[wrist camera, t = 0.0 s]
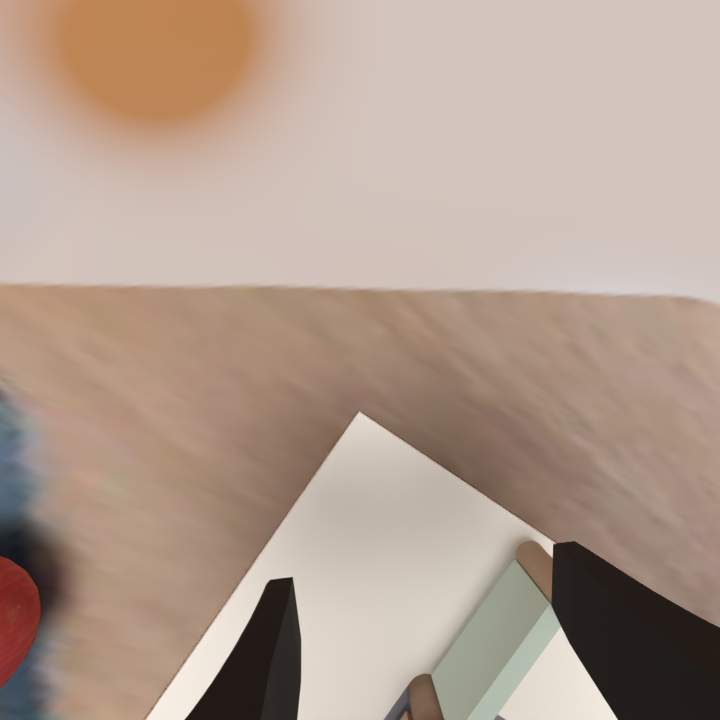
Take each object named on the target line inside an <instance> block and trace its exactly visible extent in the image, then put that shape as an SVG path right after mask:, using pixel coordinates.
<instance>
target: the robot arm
mask: <svg viewBox="0 0 720 720" xmlns="http://www.w3.org/2000/svg"><path fill="white" fill-rule="evenodd" d="M551 606H552V608H553V610H554V612H555V615H556V617H557V619H558V621H559V623H560V625H561V627H562V629H563V631H564V633H565V635H566V637H567V639H568V641H569V643H570V645H571V647H572V648H573V650H574V652H575V653H576V655H577V656H578V658H579V660H580V661H581V663H582V664H583V666H584V667H585V669H586V671H587V672H588V674H589V675H590V677H591V679H592V680H593V682H594V683H595V685H596V686H597V688H598V690H599V691H600V693H601V694H602V696H603V697H604V699H605V701H606V702H607V704H608V705H609V707H610V708H611V710H612V712H613V713H614V715H615V716H616V718H617V719H618V720H720V628H719V627H717V626H715V625H713V624H711V623H709V622H707V621H705V620H704V619H702V618H700V617H698V616H696V615H694V614H692V613H691V612H689V611H687V610H685V609H684V608H682V607H680V606H678V605H676V604H675V603H673V602H671V601H669V600H668V599H666V598H664V597H663V596H661V595H659V594H657V593H656V592H654V591H652V590H651V589H649V588H648V587H646V586H644V585H643V584H641V583H639V582H638V581H636V580H635V579H633V578H632V577H630V576H628V575H627V574H625V573H624V572H622V571H621V570H619V569H617V568H616V567H614V566H613V565H611V564H610V563H608V562H607V561H605V560H604V559H602V558H600V557H599V556H597V555H596V554H594V553H593V552H591V551H590V550H588V549H586V548H585V547H583V546H582V545H580V544H578V543H577V542H575V541H573V542H565V543H557V544H553V565H552V598H551ZM300 688H301V633H300V625H299V618H298V611H297V603H296V596H295V589H294V582H293V577H288V578H280V579H272V580H269V582H268V583H267V584H266V586H265V588H264V591H263V593H262V595H261V597H260V600H259V602H258V604H257V606H256V608H255V610H254V612H253V614H252V616H251V618H250V620H249V621H248V623H247V625H246V627H245V629H244V630H243V632H242V634H241V636H240V638H239V639H238V641H237V643H236V645H235V646H234V648H233V650H232V652H231V653H230V655H229V656H228V658H227V659H226V661H225V663H224V664H223V666H222V667H221V669H220V671H219V672H218V674H217V675H216V677H215V678H214V680H213V681H212V683H211V684H210V686H209V687H208V689H207V690H206V692H205V693H204V694H203V696H202V697H201V699H200V700H199V701H198V703H197V704H196V705H195V707H194V708H193V709H192V711H191V712H190V713H189V715H188V716H187V717H186V718H185V720H297V717H298V707H299V698H300Z"/></svg>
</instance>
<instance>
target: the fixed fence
mask: <svg viewBox="0 0 720 720" xmlns="http://www.w3.org/2000/svg"><path fill="white" fill-rule="evenodd" d="M407 693H408V699H409V704H410V708H411V713H412V714H410V713H409V712H407V711H406V712H405V713H404V715H403V716H402V717H401V719H400V720H444V717H443V714H442V710H441V707H440V704H439V700H438V697H437V693H436V690H435V687H434V683H433V680H432V676H431V674H421V675H418V676H416V677H415V678H413V679H412V680H411V683H410V685H409V687H408V692H407Z"/></svg>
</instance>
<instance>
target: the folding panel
mask: <svg viewBox="0 0 720 720" xmlns="http://www.w3.org/2000/svg"><path fill="white" fill-rule="evenodd" d="M516 559H517V560H516ZM516 559H514V560H513V562H512V563H511V565H510V566H509V567H508V569H507V570H506V572H505V573H504V574H503V576H502V577H501V579H500V580H499V581H498V583H497V584H496V586H495V587H494V588H493V590H492V591H491V593H490V594H489V595H488V597H487V598H486V600H485V601H484V602H483V604H482V605H481V607H480V608H479V610H478V611H477V612H476V614H475V615H474V617H473V618H472V619H471V621H470V622H469V624H468V625H467V626H466V628H465V629H464V631H463V632H462V633H461V635H460V636H459V638H458V639H457V640H456V642H455V643H454V645H453V646H452V647H451V649H450V650H449V652H448V653H447V654H446V656H445V657H444V659H443V660H442V661H441V663H440V664H439V666H438V667H437V668H436V670H435V671H434V673H433V674H432V675H431V676H432V680H433V683H434V687H435V690H436V693H437V697H438V700H439V704H440V707H441V710H442V714H443V717H444V720H494V719H495V717H496V716H497V715H498V713H499V712H500V710H501V709H502V708H503V706H504V705H505V703H506V702H507V701H508V699H509V698H510V696H511V695H512V694H513V692H514V691H515V690H516V688H517V687H518V685H519V684H520V683H521V681H522V680H523V678H524V677H525V676H526V674H527V673H528V672H529V670H530V669H531V667H532V666H533V665H534V663H535V662H536V660H537V659H538V658H539V656H540V655H541V653H542V652H543V651H544V649H545V648H546V647H547V645H548V644H549V642H550V641H551V640H552V638H553V637H554V635H555V634H556V633H557V631H558V630H559V628H560V627H561V625H560V623H559V621H558V619H557V617H556V615H555V612H554V610H553V608H552V606H551V598H552V565H553V558H552V557H551V556H550V555H549V554H548V553H547V552H546V551H545V550H544V549H543V547H542V546H541V545H540V544H539V543H537V542H535V541H526V542H523V543H522V544H521V545H520V546H519V547H518V548H517V551H516Z"/></svg>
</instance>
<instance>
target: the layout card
mask: <svg viewBox="0 0 720 720" xmlns="http://www.w3.org/2000/svg"><path fill="white" fill-rule="evenodd" d="M526 541H535V542H537V543H539V544H540V545H541V546H542V547H543V549H544V550H545V551H546V552H547V553H548V554H549V555H550V556H551V557H552V558H553V544H557V543H555V542H554V541H552V540H551V539H549V538H548V537H546V536H545V535H543V534H542V533H540V532H539V531H537V530H536V529H534V528H533V527H531V526H530V525H528V524H527V523H525V522H524V521H522V520H521V519H519V518H518V517H516V516H515V515H513V514H512V513H511V512H509V511H508V510H506V509H505V508H503V507H502V506H500V505H499V504H497V503H496V502H494V501H493V500H491V499H490V498H488V497H487V496H485V495H484V494H482V493H481V492H479V491H478V490H476V489H475V488H473V487H472V486H470V485H469V484H467V483H466V482H464V481H463V480H461V479H460V478H458V477H457V476H455V475H454V474H452V473H451V472H449V471H448V470H446V469H445V468H443V467H442V466H441V465H439V464H438V463H436V462H435V461H433V460H432V459H430V458H429V457H427V456H426V455H424V454H423V453H421V452H420V451H418V450H417V449H415V448H414V447H412V446H411V445H409V444H408V443H406V442H405V441H403V440H402V439H400V438H399V437H397V436H396V435H394V434H393V433H391V432H390V431H388V430H387V429H385V428H384V427H382V426H381V425H379V424H378V423H376V422H375V421H373V420H372V419H370V418H369V417H368V416H366V415H365V414H363V413H362V412H360V411H358V413H357V414H356V415H355V417H354V418H353V420H352V421H351V423H350V424H349V426H348V427H347V428H346V430H345V431H344V433H343V434H342V436H341V437H340V439H339V440H338V441H337V443H336V444H335V446H334V447H333V449H332V450H331V452H330V453H329V454H328V456H327V457H326V459H325V460H324V462H323V463H322V465H321V466H320V467H319V469H318V470H317V472H316V473H315V475H314V476H313V478H312V479H311V480H310V482H309V483H308V485H307V486H306V488H305V489H304V491H303V492H302V493H301V495H300V496H299V498H298V499H297V501H296V502H295V504H294V505H293V506H292V508H291V509H290V511H289V512H288V514H287V515H286V517H285V518H284V519H283V521H282V522H281V524H280V525H279V527H278V528H277V530H276V531H275V532H274V534H273V535H272V537H271V538H270V540H269V541H268V543H267V544H266V545H265V547H264V548H263V550H262V551H261V553H260V554H259V556H258V557H257V558H256V560H255V561H254V563H253V564H252V566H251V567H250V568H249V570H248V571H247V573H246V574H245V576H244V577H243V579H242V580H241V581H240V583H239V584H238V586H237V587H236V589H235V590H234V592H233V593H232V594H231V596H230V597H229V599H228V600H227V602H226V603H225V605H224V606H223V607H222V609H221V610H220V612H219V613H218V615H217V616H216V618H215V619H214V620H213V622H212V623H211V625H210V626H209V628H208V629H207V631H206V632H205V633H204V635H203V636H202V638H201V639H200V641H199V642H198V644H197V645H196V646H195V648H194V649H193V651H192V652H191V654H190V655H189V657H188V658H187V659H186V661H185V662H184V664H183V665H182V667H181V668H180V670H179V671H178V672H177V674H176V675H175V677H174V678H173V680H172V681H171V683H170V684H169V685H168V687H167V688H166V690H165V691H164V693H163V694H162V696H161V697H160V698H159V700H158V701H157V703H156V704H155V706H154V707H153V709H152V710H151V711H150V713H149V714H148V716H147V717H146V719H145V720H185V718H186V717H187V716H188V715H189V713H190V712H191V711H192V709H193V708H194V707H195V705H196V704H197V703H198V701H199V700H200V699H201V697H202V696H203V694H204V693H205V692H206V690H207V689H208V687H209V686H210V684H211V683H212V681H213V680H214V678H215V677H216V675H217V674H218V672H219V671H220V669H221V667H222V666H223V664H224V663H225V661H226V659H227V658H228V656H229V655H230V653H231V652H232V650H233V648H234V646H235V645H236V643H237V641H238V639H239V638H240V636H241V634H242V632H243V630H244V629H245V627H246V625H247V623H248V621H249V620H250V618H251V616H252V614H253V612H254V610H255V608H256V606H257V604H258V602H259V600H260V597H261V595H262V593H263V591H264V588H265V586H266V584H267V583H268V582H269V580H272V579H280V578H288V577H293V582H294V589H295V596H296V603H297V611H298V618H299V625H300V633H301V688H300V698H299V707H298V717H297V720H400V719H401V717H402V716H403V715H404V713H405V712H406V711H407V712H409V713H410V714H412V713H411V708H410V704H409V699H408V693H407V692H408V687H409V685H410V683H411V680H412V679H413V678H415V677H416V676H418V675H421V674H431V675H432V674H433V673H434V671H435V670H436V668H437V667H438V666H439V664H440V663H441V661H442V660H443V659H444V657H445V656H446V654H447V653H448V652H449V650H450V649H451V647H452V646H453V645H454V643H455V642H456V640H457V639H458V638H459V636H460V635H461V633H462V632H463V631H464V629H465V628H466V626H467V625H468V624H469V622H470V621H471V619H472V618H473V617H474V615H475V614H476V612H477V611H478V610H479V608H480V607H481V605H482V604H483V602H484V601H485V600H486V598H487V597H488V595H489V594H490V593H491V591H492V590H493V588H494V587H495V586H496V584H497V583H498V581H499V580H500V579H501V577H502V576H503V574H504V573H505V572H506V570H507V569H508V567H509V566H510V565H511V563H512V562H513V560H514V559H516V551H517V548H518V547H519V546H520V545H521V544H522V543H523V542H526ZM516 560H517V559H516ZM494 720H618V719H617V718H616V716H615V715H614V713H613V712H612V710H611V708H610V707H609V705H608V704H607V702H606V701H605V699H604V697H603V696H602V694H601V693H600V691H599V690H598V688H597V686H596V685H595V683H594V682H593V680H592V679H591V677H590V675H589V674H588V672H587V671H586V669H585V667H584V666H583V664H582V663H581V661H580V660H579V658H578V656H577V655H576V653H575V652H574V650H573V648H572V647H571V645H570V643H569V641H568V639H567V637H566V635H565V633H564V631H563V629H562V627H560V628H559V630H558V631H557V633H556V634H555V635H554V637H553V638H552V640H551V641H550V642H549V644H548V645H547V647H546V648H545V649H544V651H543V652H542V653H541V655H540V656H539V658H538V659H537V660H536V662H535V663H534V665H533V666H532V667H531V669H530V670H529V672H528V673H527V674H526V676H525V677H524V678H523V680H522V681H521V683H520V684H519V685H518V687H517V688H516V690H515V691H514V692H513V694H512V695H511V696H510V698H509V699H508V701H507V702H506V703H505V705H504V706H503V708H502V709H501V710H500V712H499V713H498V715H497V716H496V717H495V719H494Z"/></svg>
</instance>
